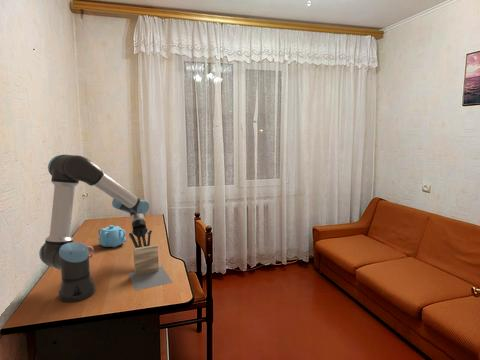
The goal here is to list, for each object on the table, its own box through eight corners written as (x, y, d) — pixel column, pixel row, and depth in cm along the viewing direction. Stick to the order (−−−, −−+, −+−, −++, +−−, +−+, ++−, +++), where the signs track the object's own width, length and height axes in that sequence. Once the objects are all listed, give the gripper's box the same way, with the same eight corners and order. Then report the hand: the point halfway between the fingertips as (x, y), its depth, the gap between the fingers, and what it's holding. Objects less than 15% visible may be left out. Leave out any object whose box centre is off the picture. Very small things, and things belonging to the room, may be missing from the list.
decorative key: (59, 263, 189) (95, 255, 193) (59, 264, 188) (94, 256, 192) (56, 253, 188) (92, 245, 192) (56, 254, 186) (91, 245, 191)
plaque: (158, 270, 170) (157, 245, 168) (135, 275, 165) (134, 249, 163) (157, 269, 172) (156, 244, 170) (135, 273, 167) (133, 248, 165)
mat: (172, 283, 157) (172, 282, 157) (135, 291, 149) (135, 290, 148) (162, 267, 176) (162, 266, 176) (128, 273, 168) (128, 272, 168)
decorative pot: (100, 251, 201) (99, 230, 199) (98, 243, 215) (96, 224, 213) (127, 246, 209) (126, 226, 207) (123, 239, 223) (122, 221, 221)
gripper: (148, 224, 190) (156, 260, 178) (126, 227, 184) (132, 264, 172) (150, 217, 185) (158, 254, 173) (127, 220, 179) (133, 258, 167)
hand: (145, 259), depth 172 cm, fingers closed
